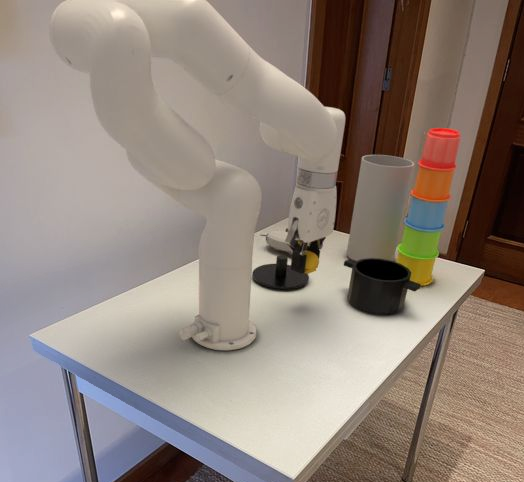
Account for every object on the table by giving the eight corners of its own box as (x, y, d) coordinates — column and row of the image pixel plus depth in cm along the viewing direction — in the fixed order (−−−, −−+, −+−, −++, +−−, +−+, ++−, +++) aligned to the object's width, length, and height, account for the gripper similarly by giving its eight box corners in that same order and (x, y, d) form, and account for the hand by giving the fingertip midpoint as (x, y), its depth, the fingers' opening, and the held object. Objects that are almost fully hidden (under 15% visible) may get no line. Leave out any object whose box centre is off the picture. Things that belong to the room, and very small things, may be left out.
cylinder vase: (402, 259, 141) (424, 163, 128) (375, 271, 133) (395, 169, 120) (364, 245, 148) (381, 152, 135) (336, 255, 140) (351, 158, 127)
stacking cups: (441, 283, 129) (481, 133, 111) (407, 289, 125) (443, 134, 107) (414, 267, 137) (448, 124, 119) (382, 271, 133) (412, 125, 115)
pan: (396, 326, 109) (404, 291, 105) (326, 297, 119) (331, 264, 115) (424, 307, 118) (432, 274, 113) (356, 281, 127) (362, 250, 123)
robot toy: (285, 238, 152) (257, 249, 140) (287, 222, 149) (259, 232, 138) (323, 248, 146) (297, 261, 135) (326, 232, 144) (300, 243, 133)
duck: (321, 271, 109) (325, 244, 106) (310, 276, 107) (314, 248, 103) (295, 261, 113) (299, 234, 110) (284, 265, 110) (287, 238, 107)
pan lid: (284, 297, 118) (286, 273, 115) (240, 277, 125) (241, 255, 122) (319, 280, 126) (322, 258, 123) (276, 263, 134) (278, 242, 131)
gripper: (305, 189, 92) (293, 285, 102) (356, 177, 103) (341, 265, 113) (272, 179, 96) (264, 272, 106) (325, 169, 107) (313, 254, 117)
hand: (304, 267), depth 109 cm, fingers closed on duck, 3 cm apart
